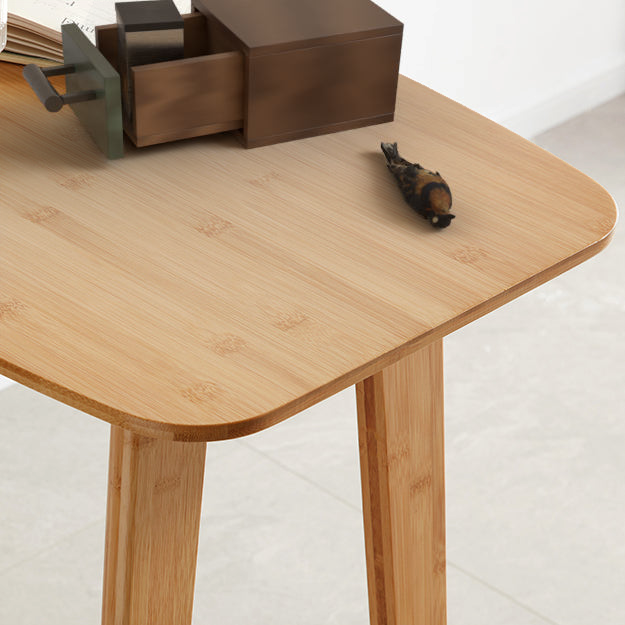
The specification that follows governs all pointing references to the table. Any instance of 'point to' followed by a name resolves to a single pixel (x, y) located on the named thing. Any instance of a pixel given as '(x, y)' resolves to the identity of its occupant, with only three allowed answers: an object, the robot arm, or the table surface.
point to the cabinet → (311, 64)
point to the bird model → (420, 187)
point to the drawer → (147, 87)
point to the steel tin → (146, 39)
